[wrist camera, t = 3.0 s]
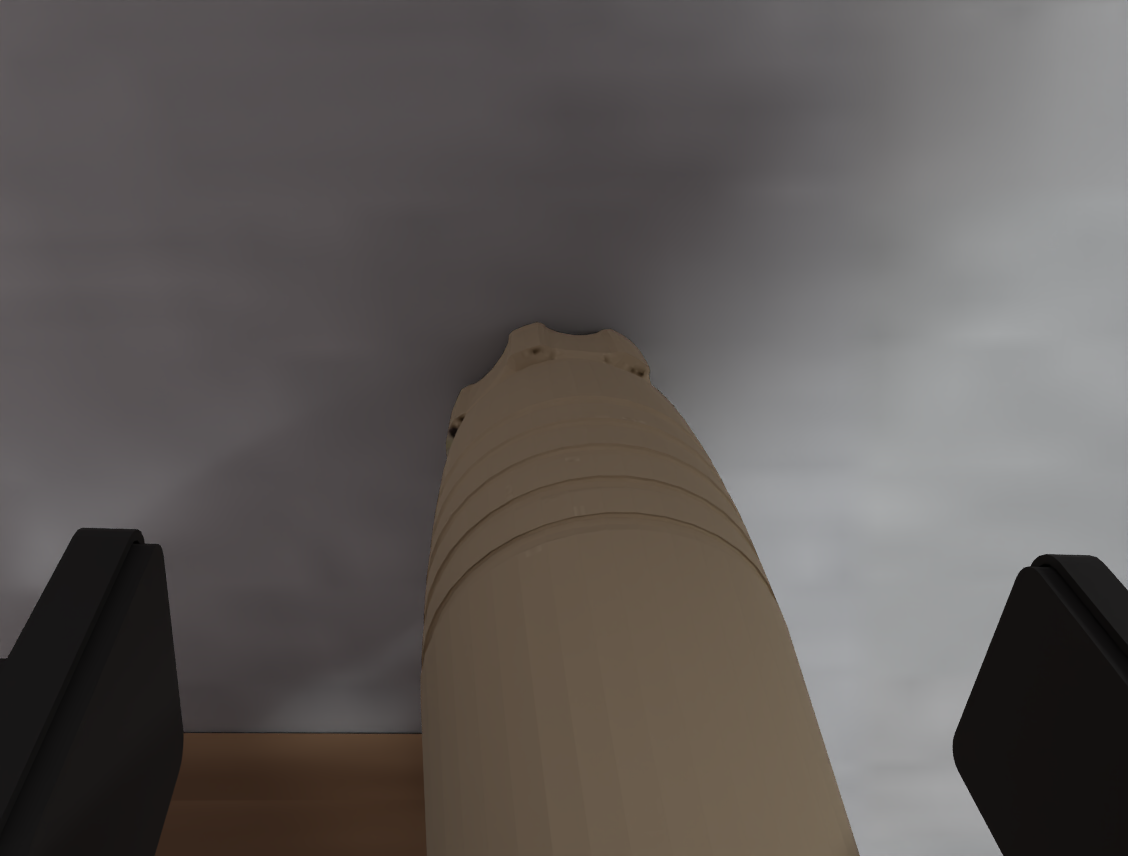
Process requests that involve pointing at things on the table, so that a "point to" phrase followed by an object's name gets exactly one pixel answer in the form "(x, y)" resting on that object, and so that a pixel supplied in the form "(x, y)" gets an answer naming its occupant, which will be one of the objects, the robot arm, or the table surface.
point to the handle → (605, 632)
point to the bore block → (297, 796)
